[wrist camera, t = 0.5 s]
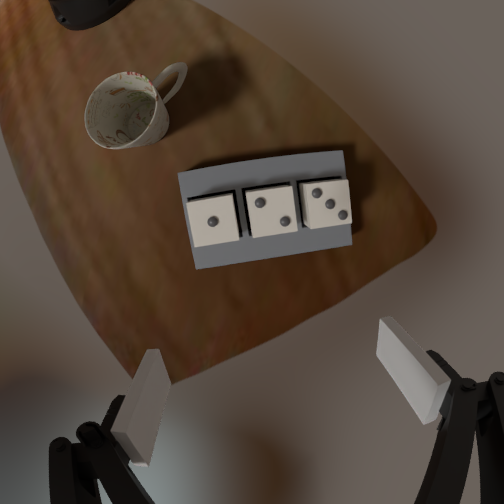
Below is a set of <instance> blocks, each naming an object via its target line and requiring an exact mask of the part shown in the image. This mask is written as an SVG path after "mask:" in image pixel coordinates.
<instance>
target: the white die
mask: <svg viewBox="0 0 504 504" xmlns="http://www.w3.org/2000/svg"><path fill="white" fill-rule="evenodd" d="M245 193H246V200H247V206H248V213H249V219H250V226H251V232H252V236H253V238H257V237H263V236H270V235H276V234H283V233H289V232H296V231H298V229H297V220H296V212H295V204H294V197H293V189H292V186H289V185H281V186H274V187H267V188H260V189H253V190H247V191H245Z"/></svg>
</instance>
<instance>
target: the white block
mask: <svg viewBox="0 0 504 504" xmlns="http://www.w3.org/2000/svg"><path fill="white" fill-rule="evenodd" d="M186 205H187V211H188V216H189V221H190V227H191V232H192V237H193V242H194V247H201V246H207V245H213V244H219V243H225V242H232V241H238V240H239V229H238V223H237V217H236V211H235V204H234V198H233V193H228V194H222V195H216V196H210V197H205V198H199V199H194V200H191V201H189V202H187V203H186Z"/></svg>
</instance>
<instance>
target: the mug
mask: <svg viewBox="0 0 504 504" xmlns="http://www.w3.org/2000/svg"><path fill="white" fill-rule="evenodd" d="M173 72H179V75H178V79H177V81H176V84H175V85H174V86H173V88H172V89H171V90H170V92H169V93H168V94H167V95H166V96H165V97H164V99H163V100H162V99H161V97H160V95H159V93H158V91H157V89H156V88H157V87H158V86H159V85H160V84H161V83H162V81H163V80H164V79H165V78H166V77H167V76H169V75H170V74H172V73H173ZM186 74H187V65H186V64H185V63H183V62H178V63H175V64H172V65H170V66H168V67H167V68H166V69H164V70H163V71H162V72H161V73H160V74H159V75H158V76H157V77H156V78H155V79H154V80H153V81H152V82H151V81H150V80H149V79H148V78H147V77H145V76H144V75H142V74H139V73H136V72H121V73H118V74H115V75H112V76H110V77H109V78H107V79H105V80H104V81H103V82H102V83H101V84H99V85H98V87H97V88H96V89H95V90H94V91H93V93H92V95H91V96H90V98H89V100H88V103H87V106H86V110H85V126H86V129H87V132H88V134H89V136H90V137H91V139H92V140H93V141H94V142H96V143H97V144H98V145H100V146H102V147H105V148H109V149H123V148H130V147H138V146H146V145H151V144H154V143H156V142H157V141H159V140H160V139H161V138H162V137H163V136H164V135H165V133H166V132H167V129H168V126H169V115H168V112H167V110H166V108H165V106H164V104H165V103H166V102H167V101H168V100H169V99H170V98H171V97H172V96H174V95H175V94H176V93H177V92H178V90H179V89H180V88H181V86H182V84H183V82H184V80H185V77H186Z"/></svg>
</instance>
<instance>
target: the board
mask: <svg viewBox="0 0 504 504" xmlns="http://www.w3.org/2000/svg"><path fill="white" fill-rule="evenodd" d="M331 176H334V179H345V180H346V171H345V163H344V156H343V150H340V151H327V152H316V153H305V154H296V155H287V156H278V157H271V158H263V159H256V160H249V161H242V162H236V163H230V164H224V165H218V166H212V167H207V168H201V169H196V170H191V171H186V172H181V173H178V178H179V184H180V190H181V196H182V201H183V207H184V212H185V217H186V222H187V228H188V233H189V238H190V243H191V248H192V252H193V257H194V262H195V266H196V269H202V268H209V267H215V266H222V265H228V264H235V263H241V262H247V261H254V260H260V259H266V258H273V257H279V256H285V255H291V254H298V253H304V252H310V251H316V250H322V249H328V248H334V247H341V246H347V245H352V236H351V223H350V224H343V225H336V226H329V227H322V228H316V229H310V228H309V227H307V226H306V225H305V224H304V223H301V216H300V208H299V200H298V192H297V185H296V180H304V179H313V178H322V177H331ZM281 182H286V184H287V185H289V186H292V189H293V197H294V204H295V212H296V220H297V229H298V231H296V232H289V233H283V234H276V235H270V236H263V237H257V238H253V236H252V232H251V231H248V228H247V221H246V215H245V209H244V202H243V196H242V190H241V188H246V187H253V186H259V185H266V184H273V183H281ZM233 189H235V190H236V196H237V203H238V209H239V215H240V221H241V228H242V232H240V233H239V240H238V241H232V242H225V243H219V244H213V245H207V246H201V247H194V242H193V237H192V232H191V227H190V221H189V216H188V211H187V205H186V203H187V202H189V201H191V200H192V199H191V197H193V196H199V195H204V194H210V193H216V192H221V191H227V190H233Z"/></svg>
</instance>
